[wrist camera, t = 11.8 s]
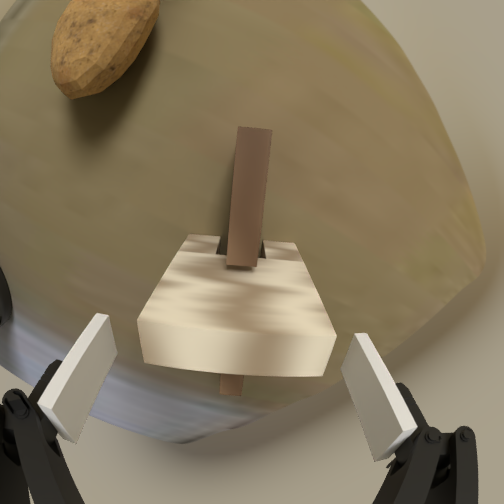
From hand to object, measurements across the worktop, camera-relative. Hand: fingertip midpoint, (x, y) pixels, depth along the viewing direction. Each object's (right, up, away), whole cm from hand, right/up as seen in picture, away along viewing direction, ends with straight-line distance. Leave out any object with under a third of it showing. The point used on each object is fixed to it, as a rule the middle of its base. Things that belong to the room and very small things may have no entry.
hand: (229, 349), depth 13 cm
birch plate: (0, +5, +13) cm, 14 cm away
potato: (-12, +26, +5) cm, 29 cm away
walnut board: (0, +5, +13) cm, 14 cm away
